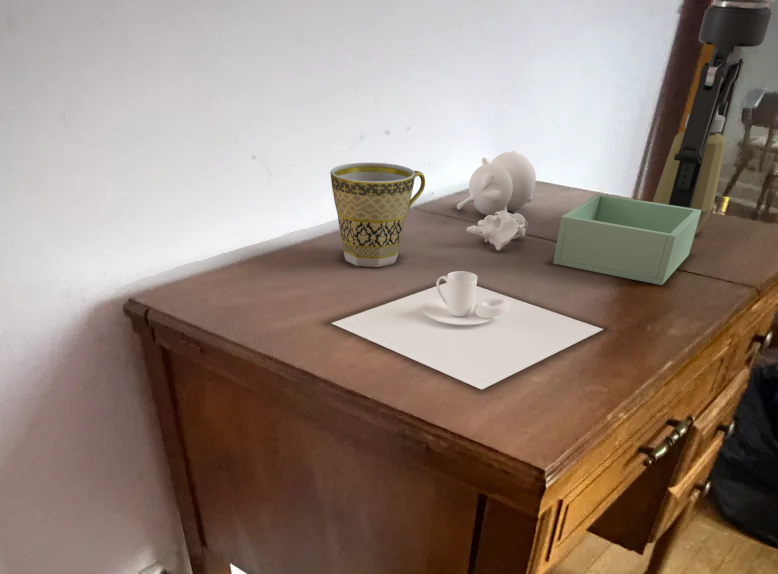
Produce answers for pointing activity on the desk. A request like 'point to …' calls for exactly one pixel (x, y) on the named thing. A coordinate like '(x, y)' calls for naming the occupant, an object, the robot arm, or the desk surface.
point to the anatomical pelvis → (500, 228)
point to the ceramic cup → (373, 209)
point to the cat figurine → (501, 184)
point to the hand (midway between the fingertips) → (684, 207)
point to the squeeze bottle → (707, 175)
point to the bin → (626, 237)
